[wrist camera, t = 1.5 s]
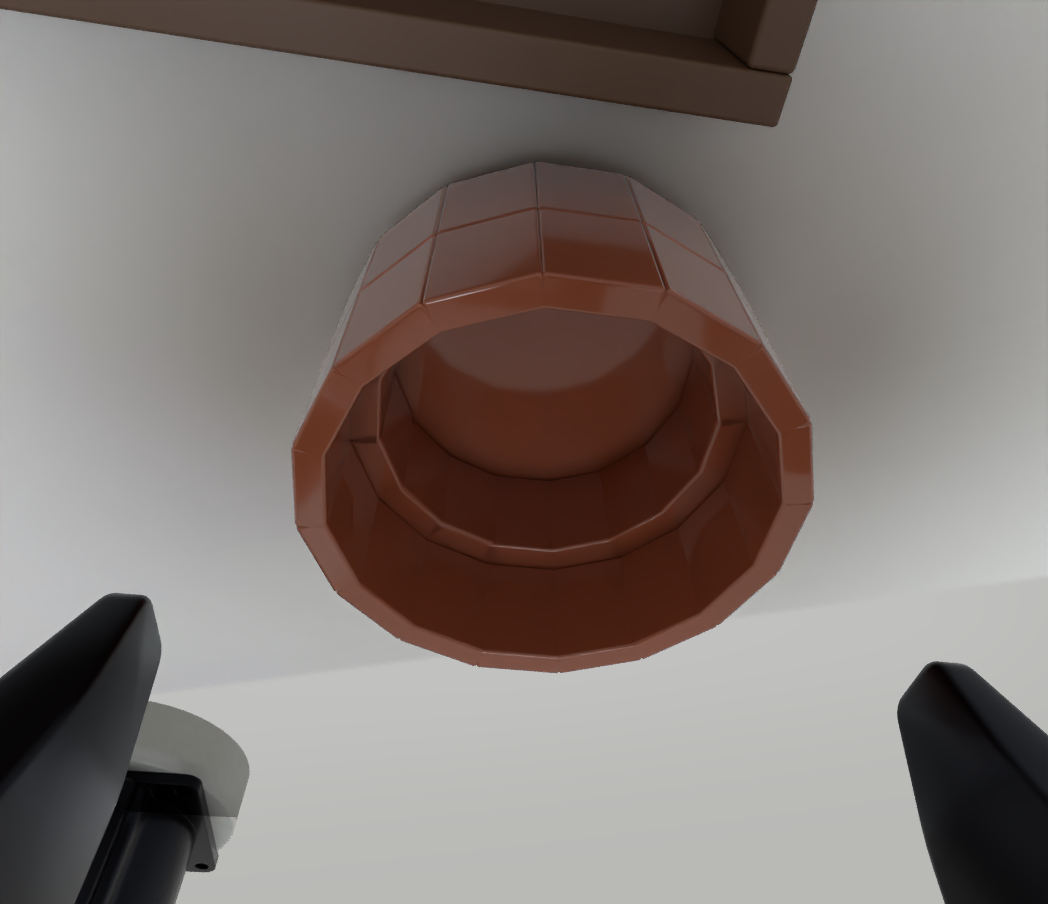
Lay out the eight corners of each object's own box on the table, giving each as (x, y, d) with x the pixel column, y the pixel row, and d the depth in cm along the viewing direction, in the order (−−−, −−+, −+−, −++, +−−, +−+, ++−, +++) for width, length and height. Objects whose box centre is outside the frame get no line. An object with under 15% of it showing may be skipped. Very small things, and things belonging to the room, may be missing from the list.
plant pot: (677, 510, 17) (722, 687, 13) (348, 477, 16) (301, 654, 12) (793, 188, 12) (908, 319, 9) (350, 124, 12) (278, 238, 8)
